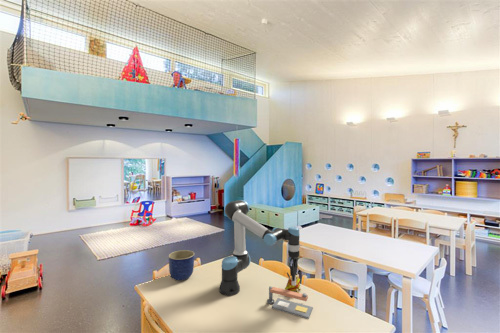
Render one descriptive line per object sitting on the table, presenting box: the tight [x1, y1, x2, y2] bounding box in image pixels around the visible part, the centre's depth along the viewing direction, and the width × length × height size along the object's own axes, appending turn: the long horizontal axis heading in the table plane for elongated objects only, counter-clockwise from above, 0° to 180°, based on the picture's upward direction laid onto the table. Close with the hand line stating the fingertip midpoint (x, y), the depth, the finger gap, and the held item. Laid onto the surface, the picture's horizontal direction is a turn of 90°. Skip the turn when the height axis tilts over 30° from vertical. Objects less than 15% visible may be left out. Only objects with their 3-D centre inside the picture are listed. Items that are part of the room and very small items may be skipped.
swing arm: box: [268, 286, 309, 302], centre depth 162 cm, size 26×4×10 cm, turn 64°
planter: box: [168, 249, 196, 282], centre depth 202 cm, size 21×21×19 cm
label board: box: [271, 297, 314, 319], centre depth 161 cm, size 24×12×1 cm, turn 64°
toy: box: [284, 272, 302, 293], centre depth 183 cm, size 14×10×15 cm
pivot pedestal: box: [266, 298, 275, 306], centre depth 167 cm, size 5×5×1 cm
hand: (293, 284), depth 169 cm, fingers closed
